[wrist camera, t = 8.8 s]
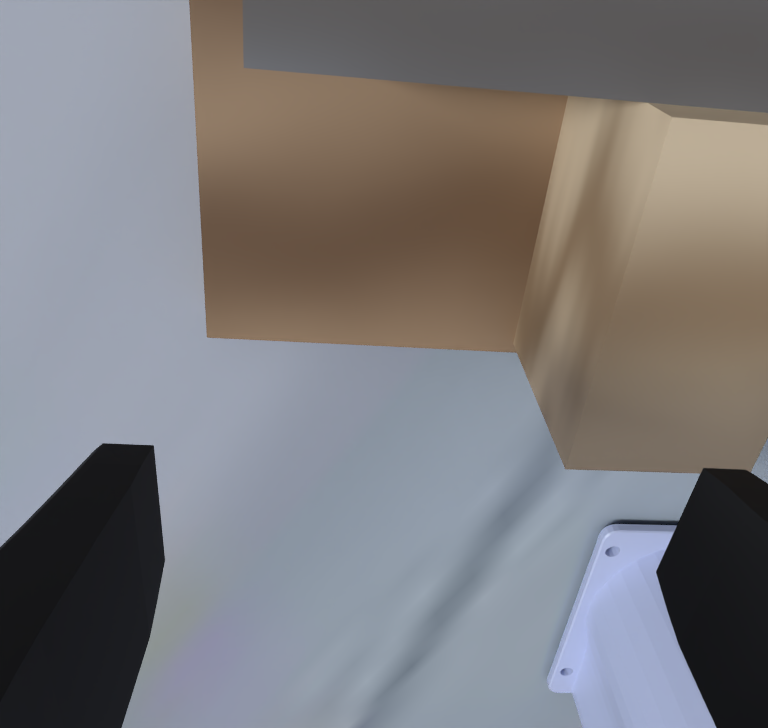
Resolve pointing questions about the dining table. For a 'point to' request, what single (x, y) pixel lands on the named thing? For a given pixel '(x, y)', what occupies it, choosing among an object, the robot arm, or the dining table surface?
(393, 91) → the board
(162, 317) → the dining table surface
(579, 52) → the scraper
